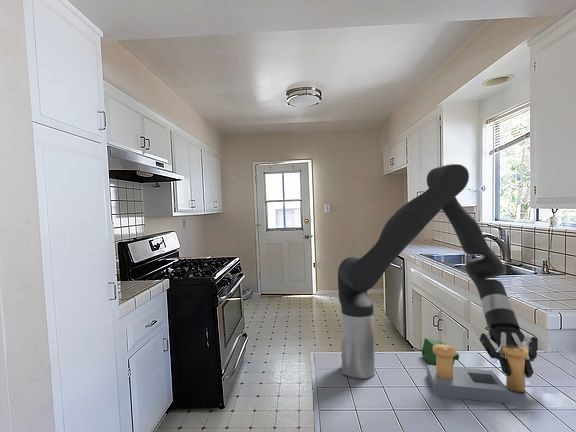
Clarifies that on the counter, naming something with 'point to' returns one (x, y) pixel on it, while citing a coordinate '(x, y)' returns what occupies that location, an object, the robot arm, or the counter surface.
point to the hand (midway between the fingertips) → (519, 375)
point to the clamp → (428, 351)
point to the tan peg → (516, 366)
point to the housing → (463, 379)
